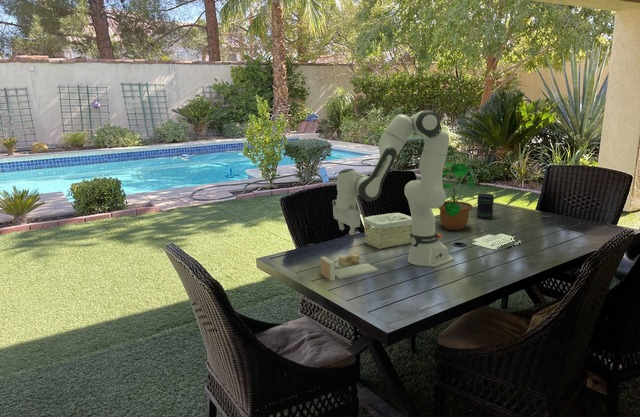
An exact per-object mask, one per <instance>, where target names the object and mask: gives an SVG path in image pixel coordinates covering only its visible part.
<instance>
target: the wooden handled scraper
mask: <svg viewBox="0 0 640 417" xmlns="http://www.w3.org/2000/svg"><path fill="white" fill-rule="evenodd" d="M334 263H335V262H334ZM357 264H358V265H359V264H360V255H359V254H357V253H356V254H351V255H345V256H339V257H338V262H336V263H335V270H336V269H341V268H344V267H349V266H354V265H357Z"/></svg>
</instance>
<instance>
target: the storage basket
mask: <svg viewBox="0 0 640 417" xmlns="http://www.w3.org/2000/svg"><path fill="white" fill-rule="evenodd" d="M363 225H364V227H363V228H364V238H365V239H364V240H365V243H366V244H368V245H369V246H372V247H374V248H377V249H380V250H381V249H384V248H385V249H386V248H390V247H397V246H402V245H408V244H411V240H410V237H411V232H412V217H411V216H410V215H407V214H405V213H401V212H392V213H384V214H377V215H370V216H366V217H363Z"/></svg>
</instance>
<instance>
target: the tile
mask: <svg viewBox="0 0 640 417" xmlns="http://www.w3.org/2000/svg"><path fill="white" fill-rule="evenodd" d="M335 270H336V269H335V261H332V260H331V259H329V258H328V257H327V256H324V255H323V256H321V257H320V273H321V274H322V275H323V276H324V277H325V278H327V279H328V280H329V281H335V280H336V276H335Z"/></svg>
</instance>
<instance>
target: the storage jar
mask: <svg viewBox="0 0 640 417" xmlns="http://www.w3.org/2000/svg"><path fill="white" fill-rule="evenodd" d="M494 197H495V196H494V194H491V193H479V194H477V200H476V201H477V202H476V204H477V208H476V219H478V220H483V221H487V220H488V221H489V220H493V216H494V215H493V214H494V210H493V208H494V200H495V199H494Z"/></svg>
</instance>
